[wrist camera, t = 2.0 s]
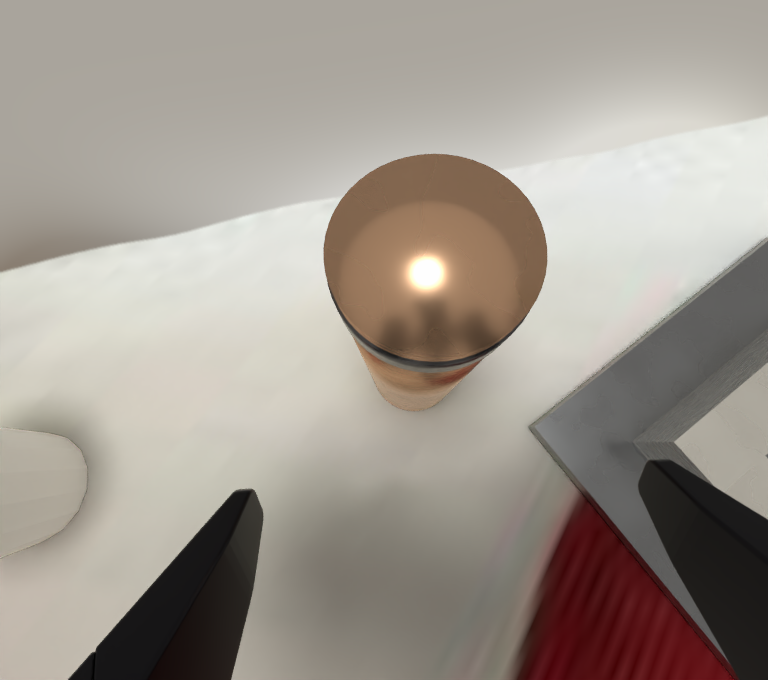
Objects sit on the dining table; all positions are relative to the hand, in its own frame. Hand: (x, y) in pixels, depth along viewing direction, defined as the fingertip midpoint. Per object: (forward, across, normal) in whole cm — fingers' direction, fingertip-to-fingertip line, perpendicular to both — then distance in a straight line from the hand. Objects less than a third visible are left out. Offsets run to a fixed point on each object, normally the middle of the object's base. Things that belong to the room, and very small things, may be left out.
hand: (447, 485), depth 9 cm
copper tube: (+11, 0, +5) cm, 12 cm away
